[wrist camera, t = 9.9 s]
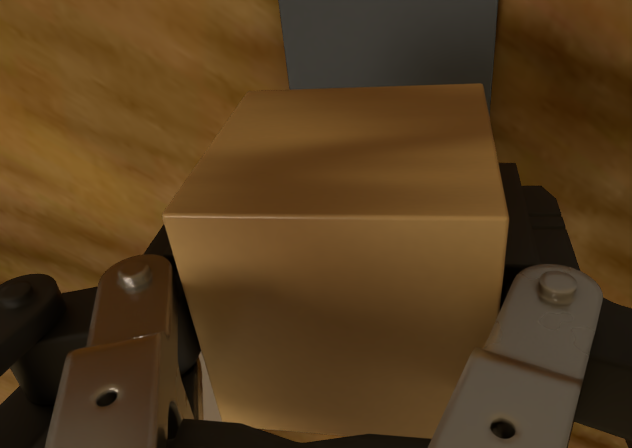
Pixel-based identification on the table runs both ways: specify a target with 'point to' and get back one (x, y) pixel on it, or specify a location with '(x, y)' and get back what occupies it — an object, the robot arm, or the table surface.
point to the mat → (389, 43)
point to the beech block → (343, 255)
